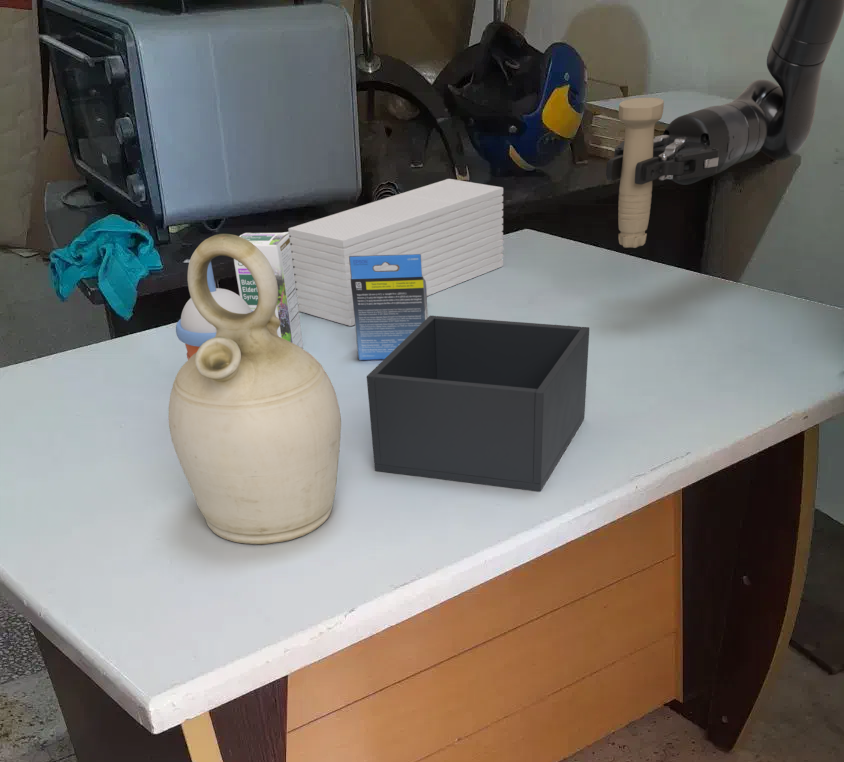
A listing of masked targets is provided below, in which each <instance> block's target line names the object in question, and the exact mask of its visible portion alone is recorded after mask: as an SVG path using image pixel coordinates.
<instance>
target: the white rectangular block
mask: <svg viewBox="0 0 844 762" xmlns="http://www.w3.org/2000/svg"><path fill="white" fill-rule="evenodd" d="M503 202H504V187H503V186H496V185H491V184H483V183H478V182H472V181H464V180H461V179H454V178H446V179H443V180H440V181H437V182H434V183H430V184H428V185H424V186H421V187H418V188H414V189H411V190H408V191H405V192H404V191H403V192H401V193H398V194H395V195H392V196H388V197H385V198H382V199H379V200H375V201H371V202H369V203H366V204H363V205H359V206H356V207H353V208H349V209H347V210H343V211H340V212H337V213H334V214H330V215H327V216H324V217H321V218H317V219H314V220H311V221H308V222H305V223H301V224H298V225H295V226H291V227H289V228H288V232H289V237H290V244H291V253H292V261H293V269H294V277H295V285H296V293H297V301H298V309H299V313H305V314H308V315H311V316H314V317H318V318H321V319H325V320H328V321H331V322H335V323H338V324H342V325H346V326H349V327H352V326H355V318H354V308H353V298H352V289H351V274H350V262H349V256H370V255H407V254H421V265H422V276H423V278H424V279H425V281H426V290H427V297H428V296H431V295H433V294H436V293H439V292H442V291H445V290H447V289H449V288H451V287H454V286H456V285H459V284H461V283H464V282H466V281H469V280H472V279H474V278H477V277H479V276H482V275H484V274H487V273H489V272H492V271H494V270H497V269H499V268H502V267H504V253H503V252H504V246H503V245H504V239H503V238H504V232H503V231H504V203H503ZM397 269H398V267H397V266H396V265H388V264H387V263H386V262H385V263H383V264H382V265H381V266H374V270H375V271H389V270H393V271H394V270H397Z"/></svg>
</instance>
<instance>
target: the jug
mask: <svg viewBox="0 0 844 762" xmlns="http://www.w3.org/2000/svg"><path fill="white" fill-rule="evenodd" d="M239 236H240V235H236V234H230V233H219V234H218V233H217V234H214V235H212V236H210V237H208V238H206V239H204V240H203V241H202V242H201V243H200V244H199V245H198V246H197V247H196V249H195V250H194V251H193V253H192V255H191V257H190V259H189V261H188V267H187V287H188V292H189V296H190V298H191V299H192V301H193V303H194V305H195V307H196V309H197V310H198V312H199V313H200V314H201V316H202V317H203V318H204V319H205V320H207V321H208V322H209V323H210V324H212V325H213V326H214V327H215V328H216V336H215V337H214V338H212V339H209V340H207V341H206V342H204V343H203V344H202V345H201V346H200V348H199V349H198V351H197V352H196V353H195V354H194V355H192V356H191V357H190V358H189V359H188V358H187V361H185V362H184V364H183V365H182V366H181V367H180V368H179V370H178V372H177V373H176V375H175V377H174V380H173V383H172V387H171V391H170V395H169V401H168V427H169V432H170V440H171V442H172V443H171V444H172V445H173V449H174V451H175V454H176V457H177V459H178V462H179V464H180V466H181V469H182V471H183V474H184V476H185V478H186V480H187V482H188V484H189V487H190V489H191V490H190V491H191V492H192V495H193V497H194V500H195V502H196V505H197V507H198V509H199V512H200V513H201V514H202V516H203V517H204V518H205V522H206V524H207V526H208V528H209V529H210V530H211V532H212V533H214V534H215V535H216V536H218V537H220V538H221V539H224V540H226V541H230V542H232V543H240V544H246V545H248V544H249V545H250V544H251V545H269V544H276V543H283V542H289V541H292V540H295V539H297V538H300V537H304V536H306V535H308V534H310V533H312V532H314V531H315V530H317V529H318V528H320V527H321V525H323V524H324V523H325V522H326V521H327V520H328V518H329V517H330V515H331V513H332V510H333V504H334V500H335V495H336V491H337V480H338V470H339V459H340V447H341V433H342V419H341V417H342V416H341V410H340V405H339V401H338V396H337V393H336V389H335V387H334V385H333V383H332V380H331V378H330V377H329V374H328V373H327V372H326V370H325V368H324V366H323V365H322V364H321V363H320V362H319V361H318V359H317V358H315V356H313V355H312V354H311V353H310V352H308V351H307V350H305V349H304V348H303V349H302V348H301V347H299V346H297V345H295V344H293V343H291V342H289V341H287V340H285V339H283V338H281V337H279V336H278V334H277V329H278V328H279V326H280V324H281V323H280V320H279V319H278V318H277V317H276V315H275V309H276V306H277V301H278V285H277V280H276V277H275V274H274V271H273V269H272V267H271V265H270V263H269V261H268V259H267V258H266V257H265V255H264V254H263V253H262V252H261V251H260V250H259V249H258V248H257V247H256V246H255V245H253V244H252V243H251V242H249V241H248V240H246V239H244V238H242V237H239ZM221 256H223V257H229V258H231V259H233V260H234V259H235V260H237V261H239V262H240V263H242V264H243V265H244V266H245V267H246V268H247V269H248V270H249V272H250V273H251V275H252V276H253V278H254V281H255V283H256V286H257V290H258V304H257V307H256V309H255V310H254V311H253V312H250V313H247V314H240V313H233V312H230V311H228V310H226V309H224V308H222V307H221V306H220V305H219V304H218V303H217V302H216V301H215V299H214V298H213V296H212V294H211V292H210V290H209V287H208V282H207V270H208V266H209V263H210V262H211V263H212V260H213V259H215V258H217V257H221Z"/></svg>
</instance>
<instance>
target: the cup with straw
mask: <svg viewBox="0 0 844 762" xmlns="http://www.w3.org/2000/svg"><path fill="white" fill-rule="evenodd" d="M207 282H208V287H209V290H210V292H211V294H212V296H213V298H214V299H215V301H216V302H217V303H218V304H219V305H220V306H221V307H222V308H224V309H226V310H228V311H230V312H233V313H240V314H247V313H250V312H253V311H252V310H251V309H250V307H249V306H248V304H247V303H246V302H245V301H244V299H242V298H241V297H240V294H237V293H236V292H234V291H232V290H229V289H226V288H221V287H216V282H215V277H214V271H213V266H212V261H211V262H210V263H209V266H208V270H207ZM175 334H176V336H177V338H178V340H179V341H180V342H182V343H183V344H184V346H185V349H186V358H187V360H188V359H189V358H190V357H191V356H192V355H194V354H195V353H196V352H197V351H198V349H199V348H200V346H201V345H202V344H203V343H204V342H206V341H207V340H209V339H212V338H214V337H215V336H216V328H215V327H214V326H213V325H212V324H210V323H209V322H208V321H207V320H205V319H204V318H203V317H202V316H201V314H200V313H199V312H198V310H197V309H196V307H195V305H194V303H193V301H192V299H191V297H190V298H189V299H188V300H187V302H186V303H185V305H184V306H183V309H182V311H181V314H180V318H179V320H178V321H177V322H176V325H175Z"/></svg>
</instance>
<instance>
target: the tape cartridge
mask: <svg viewBox="0 0 844 762" xmlns="http://www.w3.org/2000/svg"><path fill="white" fill-rule="evenodd" d="M349 262H350V274H351V289H352V298H353V308H354V318H355V325H354V326H355V337H356V338H355V339H356V349H357V350H356V351H357V358H358V360H359V361H375V360H376V361H377V360H378V361H379V360H380V361H381V360H384V359H385V358H386V357H387V356H388V355H389V354H390V353H391V352H392V351H394V350H395V349H396V348H397V347H398V346H399V345H400V344H401V343H402V342H403V341H404V340H405V339H406V338H407V337H408V336H409V335H410V334H411V333H412V332H413V331H414V330H415V329H417V328H418V327H419V326H420V325H421V324H422V323H423V322H424V321H425V320H426V319H427V318H428V317H429V309H428V296H427V290H426V281H425V279H424V278H423V276H422V265H421V254H407V255H370V256H349ZM385 262H386V263H387V264H388V265H396V266H397V267H398V269H397V270H394V271H393V270H389V271H375V270H374V266H381V265H382V264H383V263H385Z"/></svg>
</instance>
